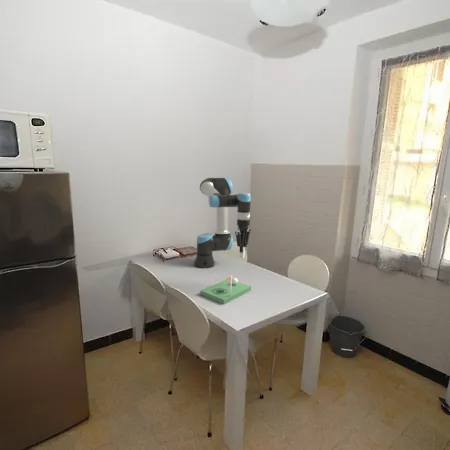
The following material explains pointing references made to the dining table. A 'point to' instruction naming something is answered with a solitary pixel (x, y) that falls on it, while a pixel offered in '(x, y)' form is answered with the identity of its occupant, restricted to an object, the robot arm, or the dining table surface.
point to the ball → (234, 281)
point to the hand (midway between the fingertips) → (242, 257)
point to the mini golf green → (225, 291)
